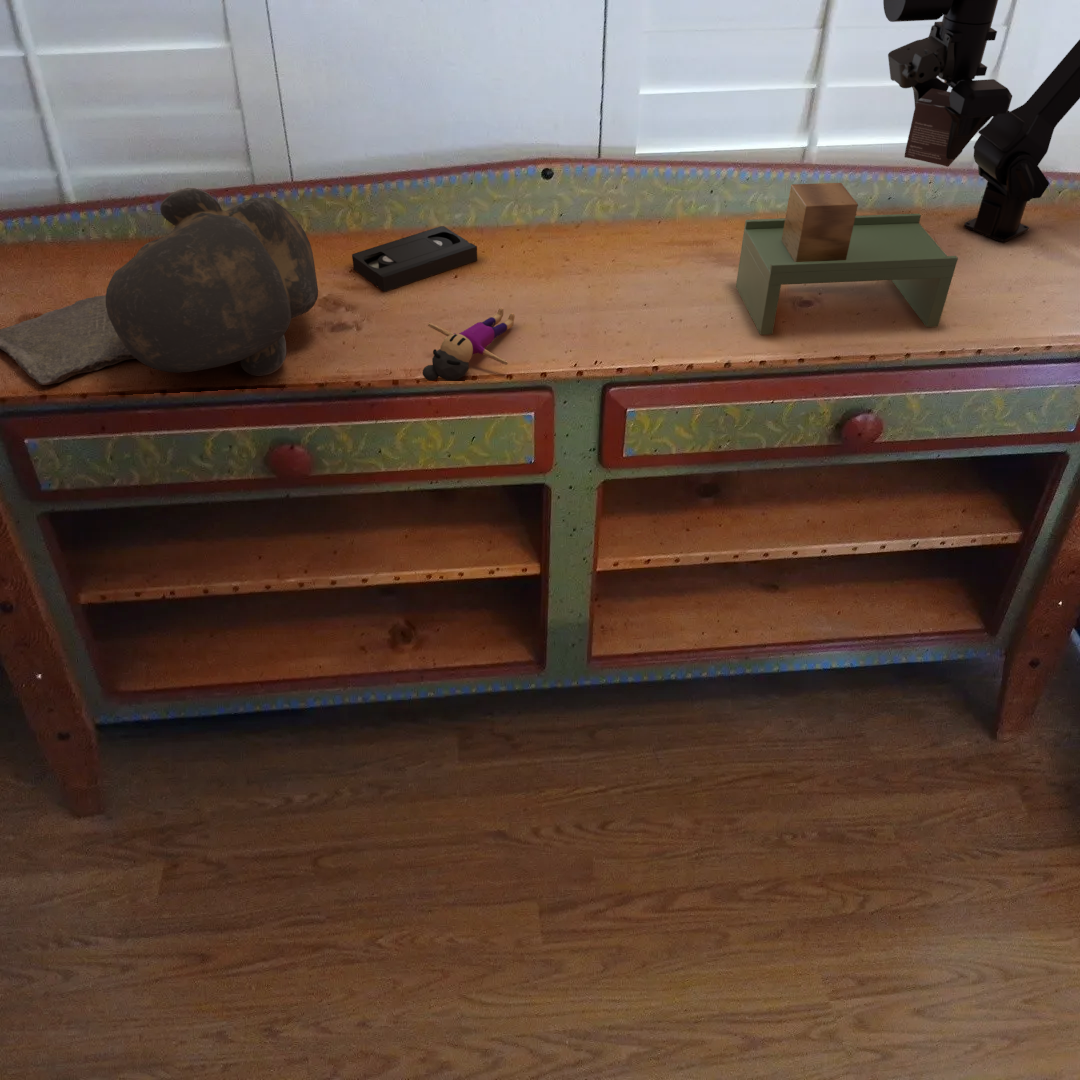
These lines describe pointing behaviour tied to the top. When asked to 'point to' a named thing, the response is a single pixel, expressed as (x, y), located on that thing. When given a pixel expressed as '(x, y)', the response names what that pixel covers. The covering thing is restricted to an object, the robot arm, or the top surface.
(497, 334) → the toy
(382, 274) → the vhs tape
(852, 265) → the shelf
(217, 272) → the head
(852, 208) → the wooden block
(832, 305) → the top surface
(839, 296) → the top surface
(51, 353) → the stone
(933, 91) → the box
